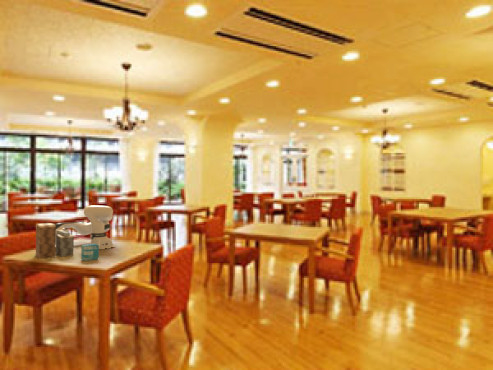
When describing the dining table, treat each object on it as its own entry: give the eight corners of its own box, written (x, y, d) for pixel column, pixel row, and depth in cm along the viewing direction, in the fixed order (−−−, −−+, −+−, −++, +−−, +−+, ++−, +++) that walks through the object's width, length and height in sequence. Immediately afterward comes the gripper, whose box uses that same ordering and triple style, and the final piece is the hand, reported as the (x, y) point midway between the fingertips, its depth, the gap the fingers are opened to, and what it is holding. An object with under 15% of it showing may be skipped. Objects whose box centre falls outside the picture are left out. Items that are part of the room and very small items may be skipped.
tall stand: (50, 254, 304) (51, 223, 304) (54, 256, 294) (55, 224, 294) (35, 255, 297) (36, 223, 296) (39, 258, 287) (40, 225, 287)
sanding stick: (62, 232, 318) (62, 229, 318) (69, 235, 302) (69, 232, 302) (57, 233, 315) (57, 230, 315) (64, 236, 299) (64, 233, 299)
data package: (82, 261, 283) (82, 245, 283) (81, 260, 287) (81, 244, 286) (98, 259, 290) (99, 244, 290) (96, 258, 294) (97, 243, 294)
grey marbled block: (68, 252, 313) (68, 233, 313) (73, 254, 304) (73, 235, 304) (55, 253, 307) (56, 234, 307) (60, 256, 297) (60, 236, 297)
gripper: (67, 238, 332) (71, 232, 323) (42, 240, 318) (46, 234, 309) (66, 231, 334) (70, 225, 325) (41, 233, 320) (45, 227, 311)
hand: (58, 229), depth 317 cm, fingers open, 8 cm apart
